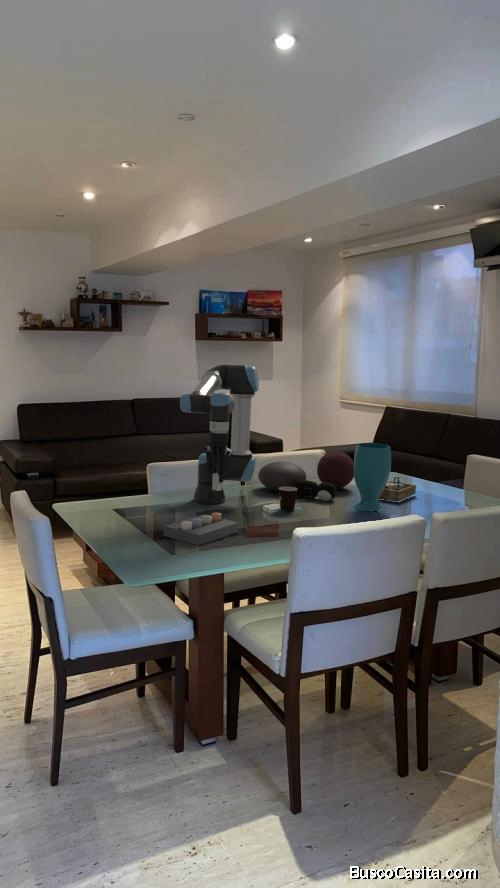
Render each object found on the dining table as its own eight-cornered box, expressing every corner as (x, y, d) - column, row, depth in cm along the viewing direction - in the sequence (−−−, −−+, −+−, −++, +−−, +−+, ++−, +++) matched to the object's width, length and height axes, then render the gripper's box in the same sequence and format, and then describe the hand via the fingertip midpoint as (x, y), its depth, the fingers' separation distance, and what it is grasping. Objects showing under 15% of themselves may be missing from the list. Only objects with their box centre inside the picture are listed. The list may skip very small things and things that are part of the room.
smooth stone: (291, 498, 331) (292, 468, 329) (248, 490, 344) (249, 462, 342) (313, 489, 352) (315, 461, 350) (272, 483, 365) (273, 456, 363)
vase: (343, 507, 316) (347, 444, 312) (363, 502, 329) (367, 441, 324) (374, 515, 305) (379, 450, 300) (394, 509, 318) (399, 446, 313)
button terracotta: (209, 522, 272) (209, 513, 271) (215, 520, 275) (215, 511, 274) (216, 524, 269) (217, 515, 269) (223, 522, 273) (223, 513, 272)
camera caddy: (372, 498, 337) (372, 486, 336) (389, 492, 354) (390, 480, 353) (398, 503, 329) (399, 491, 328) (415, 496, 346) (416, 485, 345)
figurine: (292, 486, 329) (332, 491, 322) (298, 474, 336) (337, 479, 328) (294, 501, 334) (333, 506, 327) (299, 489, 341) (338, 494, 334)
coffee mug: (295, 513, 303) (296, 491, 302) (276, 511, 305) (277, 489, 303) (298, 507, 314) (299, 486, 313) (280, 505, 316) (281, 484, 314)
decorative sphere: (316, 483, 368) (318, 447, 365) (353, 486, 365) (355, 449, 362) (315, 491, 349) (317, 453, 345) (353, 494, 346) (356, 455, 343)
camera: (389, 500, 335) (390, 480, 334) (377, 497, 341) (379, 478, 340) (408, 497, 345) (409, 477, 343) (396, 494, 351) (398, 475, 349)
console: (163, 535, 261) (164, 525, 260) (203, 523, 280) (204, 514, 280) (199, 545, 251) (199, 535, 250) (238, 532, 270) (238, 522, 269)
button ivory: (179, 531, 257) (179, 522, 257) (186, 529, 260) (186, 520, 260) (186, 533, 255) (187, 524, 254) (193, 531, 258) (194, 522, 258)
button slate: (189, 528, 262) (189, 519, 262) (196, 526, 265) (196, 517, 265) (197, 530, 260) (197, 521, 259) (203, 528, 263) (204, 519, 262)
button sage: (199, 525, 267) (199, 516, 266) (206, 523, 270) (206, 514, 270) (207, 527, 265) (207, 518, 264) (213, 525, 268) (213, 516, 267)
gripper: (199, 430, 268) (197, 488, 271) (227, 434, 259) (225, 494, 263) (211, 429, 274) (209, 485, 277) (239, 433, 265) (237, 491, 269)
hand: (217, 489), depth 270 cm, fingers closed
